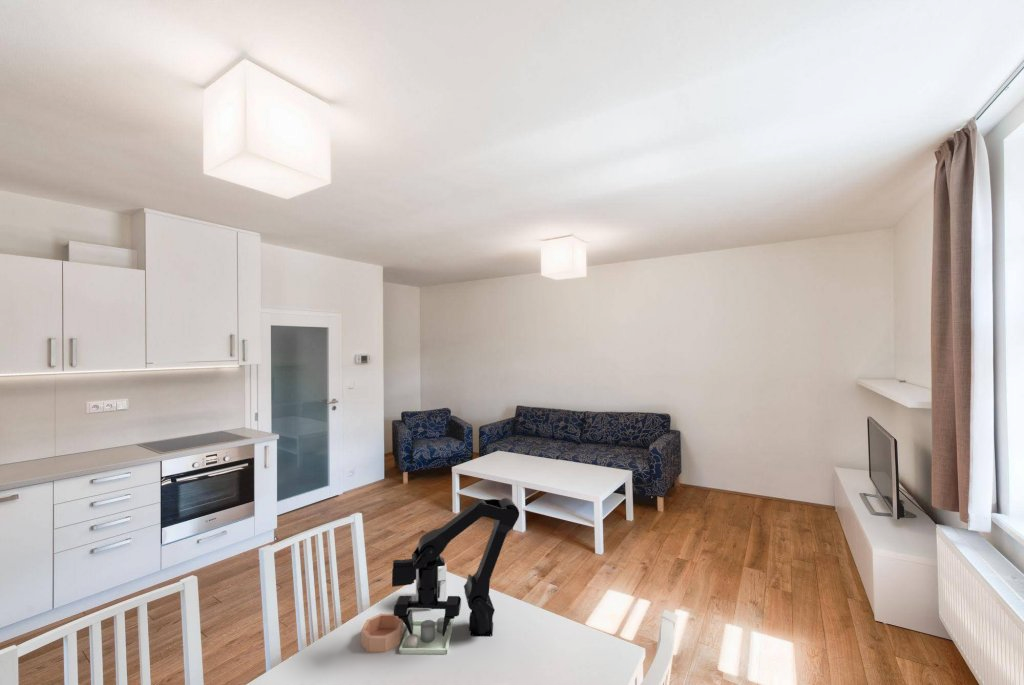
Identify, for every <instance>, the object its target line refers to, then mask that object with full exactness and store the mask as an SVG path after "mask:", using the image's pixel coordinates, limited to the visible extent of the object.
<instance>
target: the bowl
mask: <svg viewBox="0 0 1024 685" xmlns="http://www.w3.org/2000/svg"><path fill="white" fill-rule="evenodd" d="M404 625H405V624H404V622H403V621H402V619H399V618H398V616H394V613H379V614H377V615H374V616H373V617H370V618H367V619H366V620H365V622H364V624H363V626H362V627H361V632H360V644H361V646H362V647H363V648H364V649H365V650H366V651H367V652H368V653H387V652H388V651H390V650H391V649H393V648H395V647H397V646H399V645H401V643H402V640H403V638H404V635H405V633H404V631H405V630H404V629H405V628H404Z"/></svg>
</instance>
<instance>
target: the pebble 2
mask: <svg viewBox="0 0 1024 685" xmlns="http://www.w3.org/2000/svg"><path fill="white" fill-rule="evenodd" d="M436 620H437V631H438V632H439V633H442V632H443V623H444V617H439V618H437V619H436ZM446 630H447V629H446Z"/></svg>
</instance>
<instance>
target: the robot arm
mask: <svg viewBox="0 0 1024 685" xmlns="http://www.w3.org/2000/svg"><path fill="white" fill-rule="evenodd" d="M482 517H483V518H489V519H493V527H492V530H491V533H490V535H489V538H488V541H487V543H486V546H485V548H484V552H483V555H482V557H481V560H480V562H479V565H478V568H477V571H476V572H475V573H474V574H473V575H471V574H468V575H467V580H466V582H465V584H464V585H463V590H464V595H465V599H466V603H467V605H468V609H469V610H470V611H471V612H469V617H468V618H469V621H468V622H469V627H468V630H469V632H470V636H471V637H490V638H491V637H493V635H494V634H493V632H494V621H493V618H494V613H495V607H494V605H493V601H492V600H491V597H490V583H491V578H492V576H493V572H494V570H495V567H496V565H497V562H498V559H499V557H500V553H501V551H502V548H503V546H504V542H505V540H506V538H507V535H508V533H509V532H510V531H511V530H513V528H514V527H515V525H516V523H517V521H518V519H519V517H520V511H519V508H518V507H517V505H516V504H515V503H514V502H513V500H512V499H511V498H508V497H504V498H502V499H497V498H489V499H484V498H478V499H475V501H474V502H473V503H472V504H471V505H470V506H468V507H467V508H465V509H464V510H463V511H461V512H460V513H459V514H458V515H456V516H455V517H454V518H452V519H451V520H450V521H449V522H447V523H446V524H444V525H443V526H441V527H439V528H435V529H432V530H431V531H428V532H426V533H425V534H423V535H422V536H421V537H420V538H419V540H418V544H417V546H416V548H415V549H414V551H413V552H412V554H411V558H407V559H406V558H405V559H393V561H392V570H391V571H392V572H391V575H392V576H391V580H392V581H391V587H392V588H393V587H402V586H408V585H409V586H411V585H413V584H414V583H415V581H416V569H418V583H417V590H418V601H416V600H413V597H412V595H399V596H398V597H397V599H396V601H395V603H394V605H393V614H394V616H398V618H399V619H402V621H403V622H404V625H405V627H406V630H407V629H408V631H409V633H410V635H411V634H413V617H414V616H413V610H428V609H432V610H444V616H443V618H444V623H443V632H442V633H443V636H444V635H445V632H446V629H447V626H448V624H449V622H450V620H454V619H455V618H456V617H458V616H460V613H461V612H460V611H461V608H462V598H461V597H460V595H447V597H446V601H438V598H439V597H440V586H441V581H438V567H439V566H445V564H446V562H445V558H444V557H443V556H441V554H442V553H443V552H444V550H445V549H446V548H447V546H448V545H449V543H450V542H451V541H452V540H453V539H455V538H456V537H458V536H460V534H461V533H463V532H464V531H465V530H467V529H468V528H469V527H470V526H472V525H473V524H475V523H476V522H477V521H479V520H480V518H481V519H482Z"/></svg>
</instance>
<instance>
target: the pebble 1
mask: <svg viewBox="0 0 1024 685" xmlns="http://www.w3.org/2000/svg"><path fill="white" fill-rule="evenodd" d="M407 648H418V635H416V634H411V635H409V636H408V637H407Z"/></svg>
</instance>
